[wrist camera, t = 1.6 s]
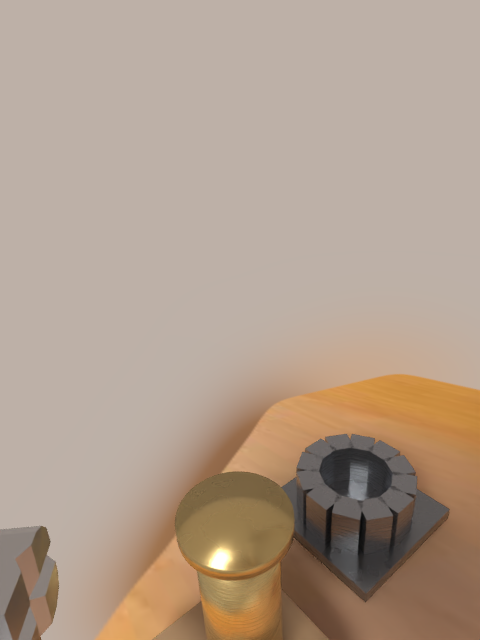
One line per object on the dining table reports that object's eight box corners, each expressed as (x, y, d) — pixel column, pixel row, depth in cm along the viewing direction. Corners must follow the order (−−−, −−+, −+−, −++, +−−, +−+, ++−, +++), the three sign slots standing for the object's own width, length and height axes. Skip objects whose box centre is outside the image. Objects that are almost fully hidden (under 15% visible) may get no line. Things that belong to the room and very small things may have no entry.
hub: (344, 450, 50) (346, 413, 48) (447, 517, 41) (455, 475, 39) (262, 508, 43) (260, 468, 41) (365, 602, 35) (369, 557, 32)
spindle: (252, 582, 33) (243, 456, 28) (316, 654, 29) (319, 518, 24) (178, 642, 30) (153, 510, 25) (238, 735, 25) (221, 596, 20)
